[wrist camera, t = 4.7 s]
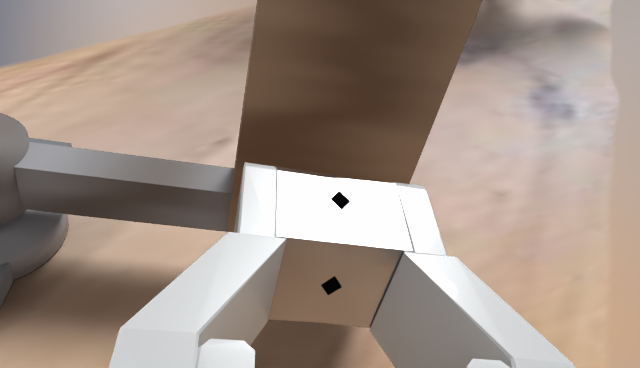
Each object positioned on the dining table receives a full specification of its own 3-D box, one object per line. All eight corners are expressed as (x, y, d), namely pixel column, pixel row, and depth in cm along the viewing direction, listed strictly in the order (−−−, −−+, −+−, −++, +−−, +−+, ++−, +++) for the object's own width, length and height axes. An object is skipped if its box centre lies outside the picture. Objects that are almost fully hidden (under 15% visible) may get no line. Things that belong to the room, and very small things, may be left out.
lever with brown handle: (-464, 190, 14) (-919, -313, 8) (-349, 120, 16) (-630, -302, 10) (382, 275, 17) (505, -22, 11) (369, 207, 20) (466, -66, 14)
